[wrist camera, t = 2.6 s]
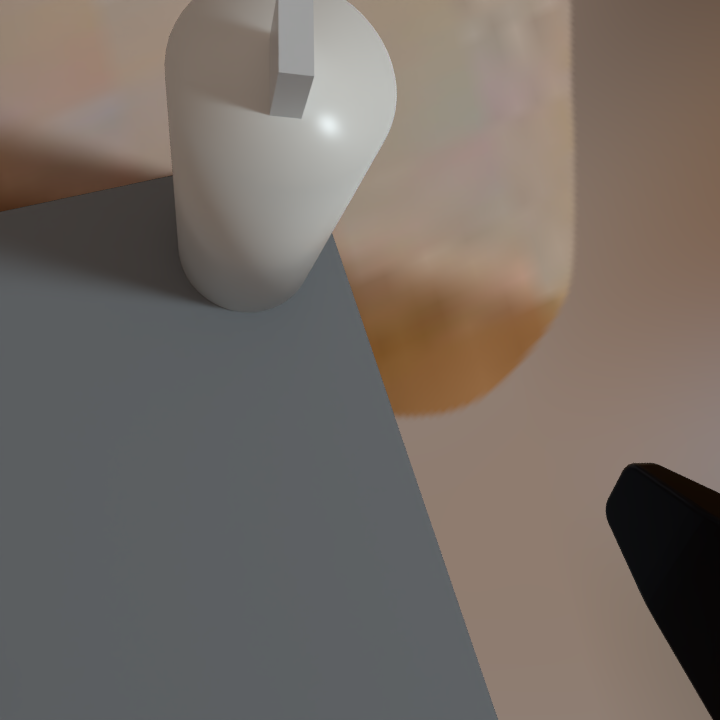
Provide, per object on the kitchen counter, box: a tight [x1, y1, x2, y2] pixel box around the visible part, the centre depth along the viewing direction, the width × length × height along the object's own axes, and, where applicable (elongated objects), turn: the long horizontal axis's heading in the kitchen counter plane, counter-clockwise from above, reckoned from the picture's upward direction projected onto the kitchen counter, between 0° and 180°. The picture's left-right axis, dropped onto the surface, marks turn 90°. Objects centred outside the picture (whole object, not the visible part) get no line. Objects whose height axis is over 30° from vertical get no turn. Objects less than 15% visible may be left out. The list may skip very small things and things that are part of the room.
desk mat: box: [0, 175, 498, 720], centre depth 20 cm, size 22×18×1 cm
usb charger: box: [165, 0, 397, 312], centre depth 17 cm, size 4×4×11 cm
